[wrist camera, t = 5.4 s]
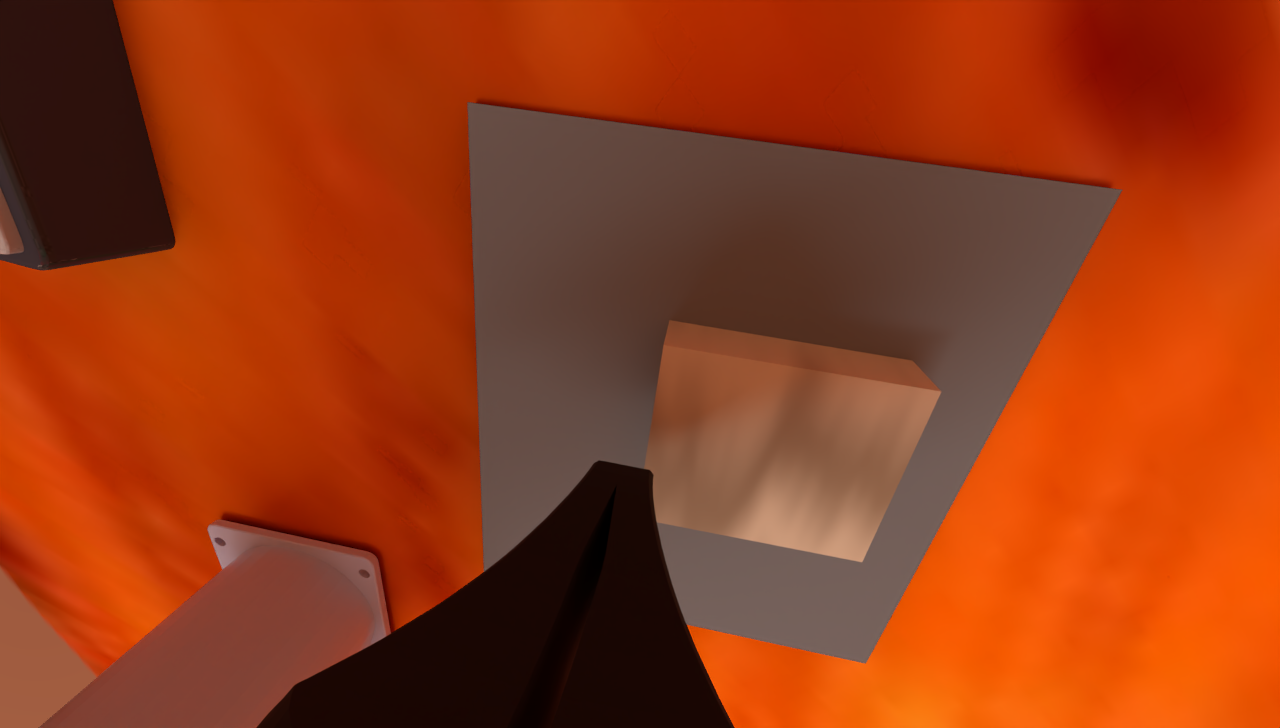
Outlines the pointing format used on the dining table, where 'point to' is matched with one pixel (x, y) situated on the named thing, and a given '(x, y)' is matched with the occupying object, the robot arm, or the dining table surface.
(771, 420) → the maple tile
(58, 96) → the calculator
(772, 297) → the mat
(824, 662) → the dining table surface
